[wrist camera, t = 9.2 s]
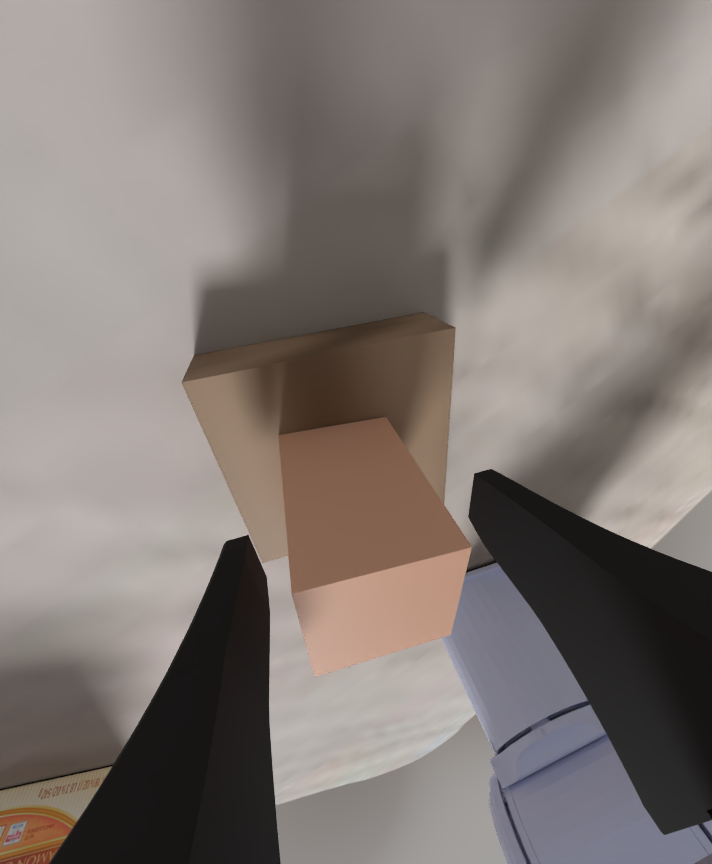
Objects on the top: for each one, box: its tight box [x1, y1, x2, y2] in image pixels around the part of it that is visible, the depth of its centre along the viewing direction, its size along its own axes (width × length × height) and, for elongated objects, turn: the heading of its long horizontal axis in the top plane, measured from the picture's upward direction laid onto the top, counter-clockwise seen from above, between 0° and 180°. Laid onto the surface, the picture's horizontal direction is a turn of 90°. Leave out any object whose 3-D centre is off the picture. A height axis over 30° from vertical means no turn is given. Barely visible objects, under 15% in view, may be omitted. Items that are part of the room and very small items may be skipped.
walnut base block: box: [182, 312, 455, 563], centre depth 14 cm, size 9×9×3 cm
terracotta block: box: [278, 417, 472, 677], centre depth 10 cm, size 4×4×6 cm
